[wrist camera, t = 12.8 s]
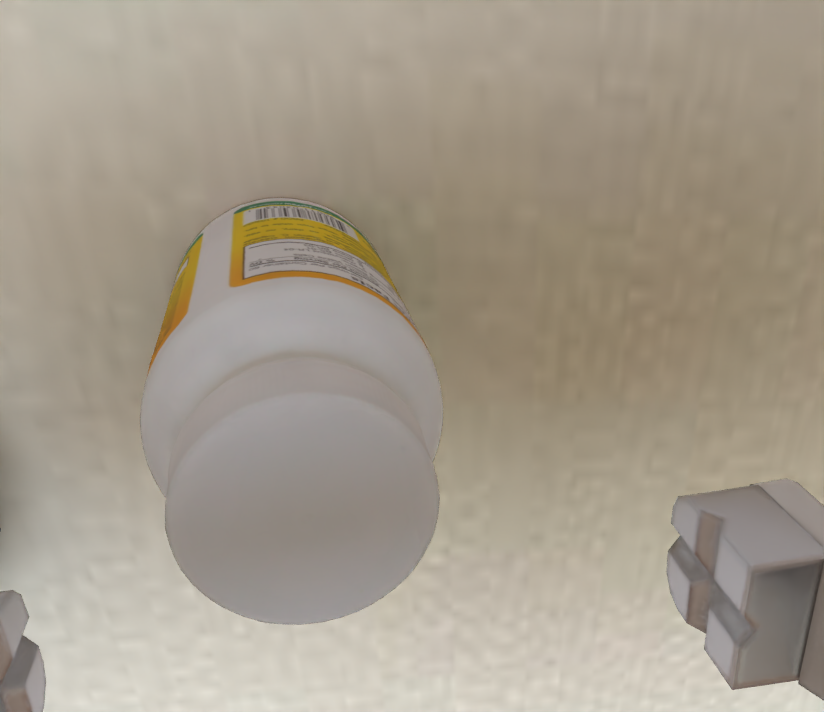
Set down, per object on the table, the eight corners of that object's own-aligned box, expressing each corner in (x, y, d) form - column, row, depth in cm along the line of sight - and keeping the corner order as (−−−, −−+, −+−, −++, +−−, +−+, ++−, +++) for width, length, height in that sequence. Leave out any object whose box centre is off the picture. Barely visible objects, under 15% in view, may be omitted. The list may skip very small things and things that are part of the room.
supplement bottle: (315, 151, 19) (376, 269, 10) (422, 326, 21) (546, 544, 12) (125, 270, 19) (26, 484, 10) (252, 429, 21) (258, 713, 13)
